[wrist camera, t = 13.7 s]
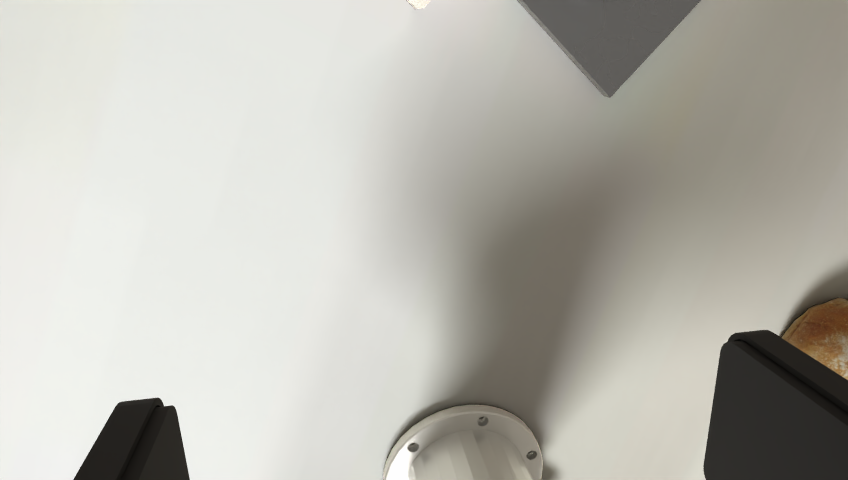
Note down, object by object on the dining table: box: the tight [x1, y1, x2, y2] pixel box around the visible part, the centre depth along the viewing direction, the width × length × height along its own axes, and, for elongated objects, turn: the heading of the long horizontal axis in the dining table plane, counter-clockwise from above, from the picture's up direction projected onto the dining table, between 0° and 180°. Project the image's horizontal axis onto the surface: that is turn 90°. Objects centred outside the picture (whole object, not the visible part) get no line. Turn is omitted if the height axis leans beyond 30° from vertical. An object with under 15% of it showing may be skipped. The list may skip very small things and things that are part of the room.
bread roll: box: [781, 298, 848, 380], centre depth 46 cm, size 10×10×8 cm
